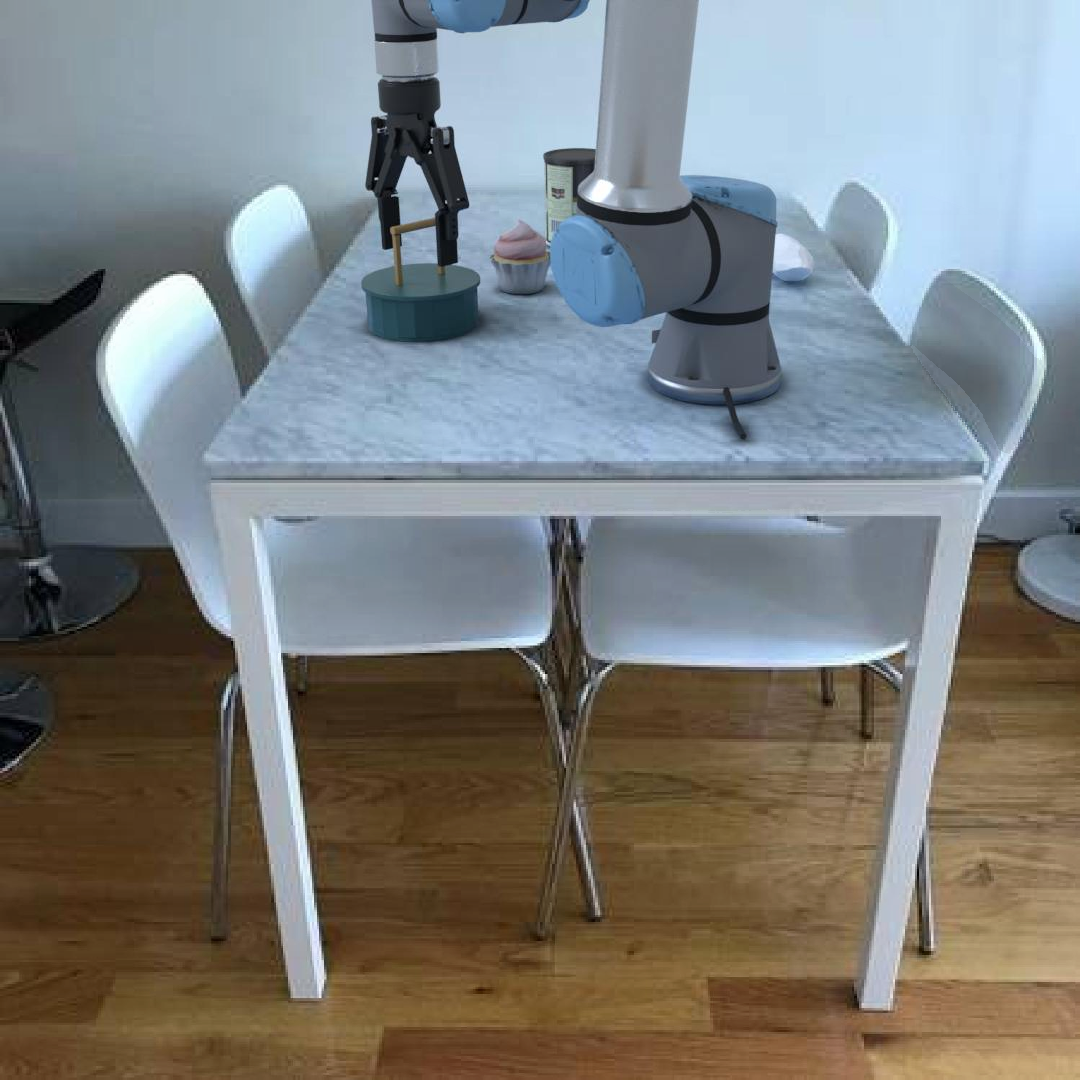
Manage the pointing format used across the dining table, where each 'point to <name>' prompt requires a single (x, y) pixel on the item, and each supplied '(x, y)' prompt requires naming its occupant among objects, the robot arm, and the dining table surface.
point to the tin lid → (418, 275)
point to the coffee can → (564, 183)
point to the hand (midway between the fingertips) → (419, 255)
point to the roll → (791, 259)
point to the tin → (423, 317)
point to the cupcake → (521, 260)
